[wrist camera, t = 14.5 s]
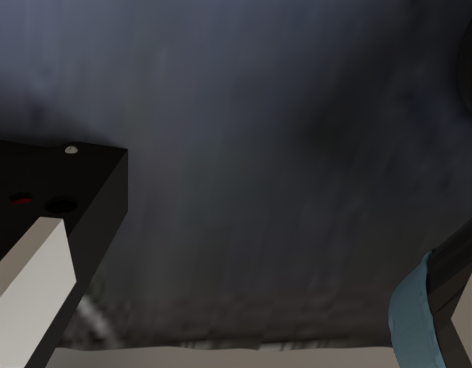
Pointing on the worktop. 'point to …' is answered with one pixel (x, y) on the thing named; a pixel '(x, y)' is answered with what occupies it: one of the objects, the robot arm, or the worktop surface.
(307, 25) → the worktop surface
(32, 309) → the robot arm
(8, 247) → the electrical component
